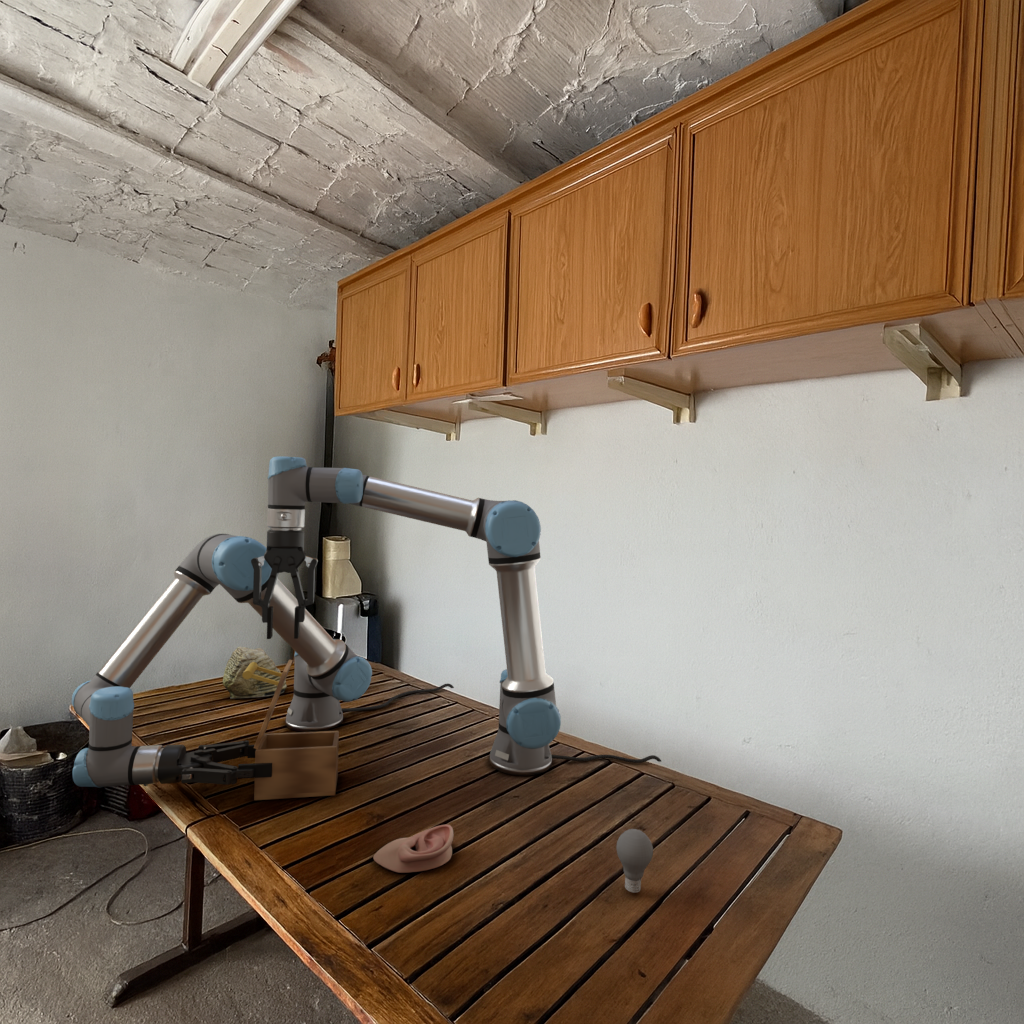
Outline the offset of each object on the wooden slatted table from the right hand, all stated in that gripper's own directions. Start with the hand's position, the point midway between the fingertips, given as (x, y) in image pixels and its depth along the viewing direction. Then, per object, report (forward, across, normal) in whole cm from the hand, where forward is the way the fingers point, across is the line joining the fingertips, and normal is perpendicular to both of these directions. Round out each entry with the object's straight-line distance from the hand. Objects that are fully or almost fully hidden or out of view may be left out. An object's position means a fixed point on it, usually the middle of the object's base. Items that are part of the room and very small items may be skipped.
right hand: (283, 637), depth 136 cm
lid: (+14, -1, 0) cm, 14 cm away
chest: (+33, +4, 0) cm, 33 cm away
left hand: (+27, -1, 0) cm, 27 cm away
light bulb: (+34, +62, -45) cm, 84 cm away
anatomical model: (+33, +27, -30) cm, 52 cm away
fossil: (+33, -17, +67) cm, 76 cm away
